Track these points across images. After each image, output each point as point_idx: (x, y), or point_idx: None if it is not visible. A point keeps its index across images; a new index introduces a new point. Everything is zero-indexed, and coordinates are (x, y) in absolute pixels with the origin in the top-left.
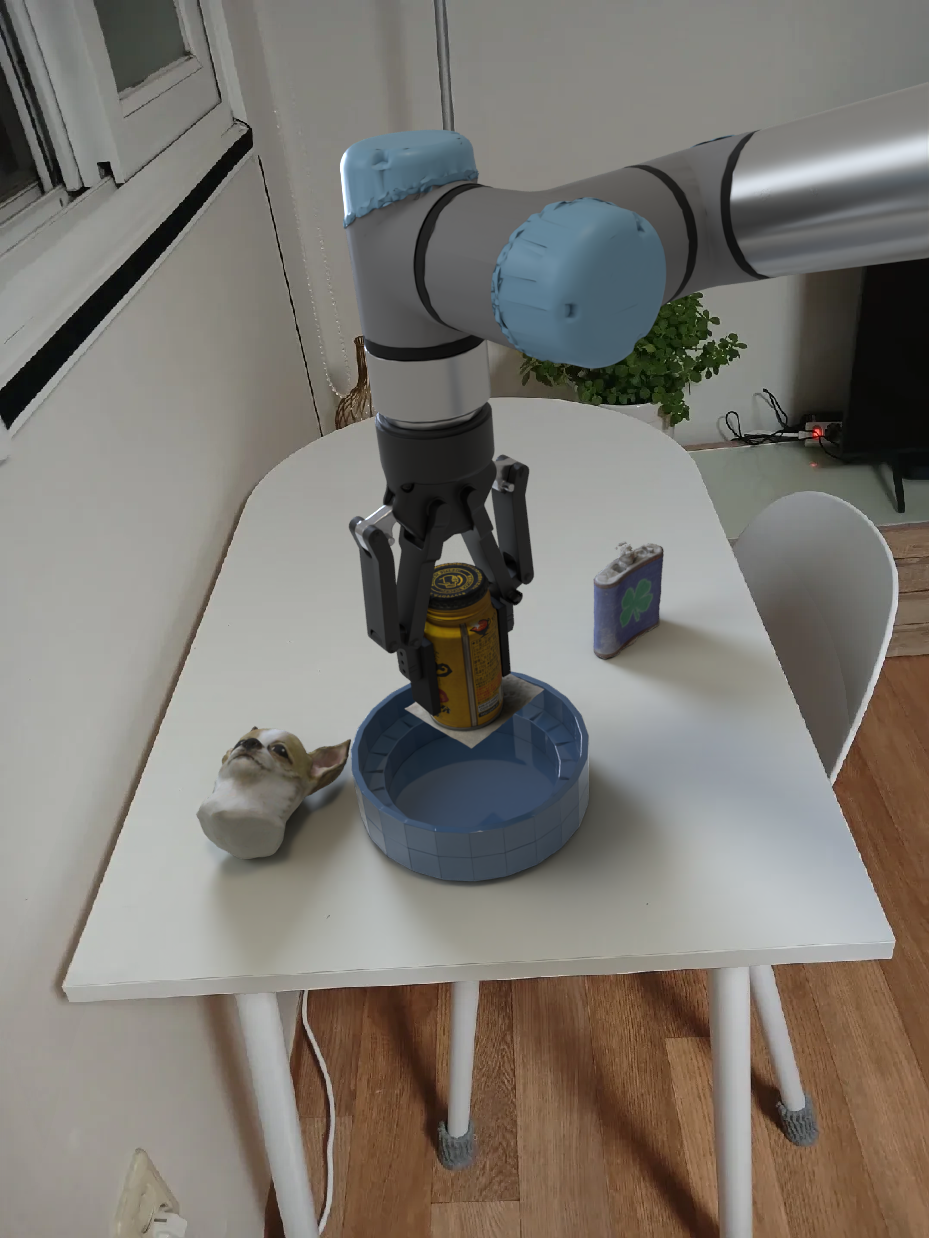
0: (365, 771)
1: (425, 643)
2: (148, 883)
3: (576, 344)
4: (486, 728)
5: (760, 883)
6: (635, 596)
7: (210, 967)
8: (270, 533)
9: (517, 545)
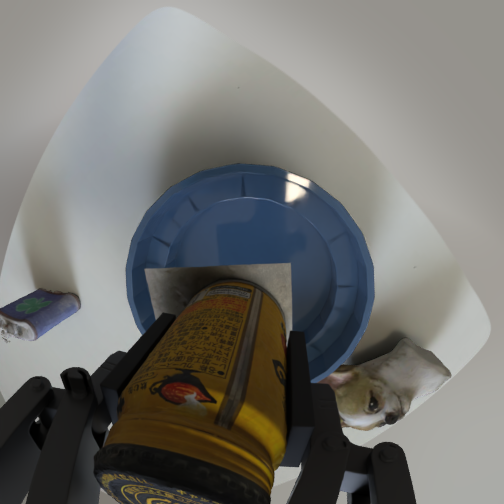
0: (320, 352)
1: (301, 432)
2: (445, 366)
3: None
4: (247, 276)
5: (167, 54)
6: (29, 307)
7: (470, 289)
8: None
9: (3, 444)
